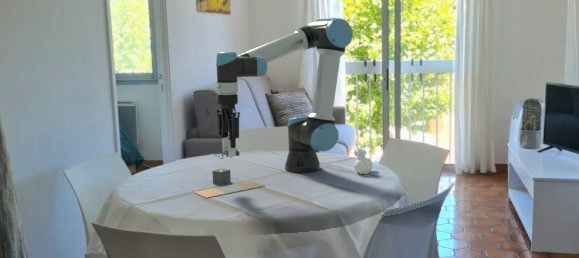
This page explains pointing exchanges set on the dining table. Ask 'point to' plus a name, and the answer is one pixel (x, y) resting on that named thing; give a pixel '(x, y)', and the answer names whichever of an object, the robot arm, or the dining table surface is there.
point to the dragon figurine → (228, 153)
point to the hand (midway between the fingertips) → (229, 155)
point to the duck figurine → (362, 162)
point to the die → (221, 176)
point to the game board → (228, 189)
